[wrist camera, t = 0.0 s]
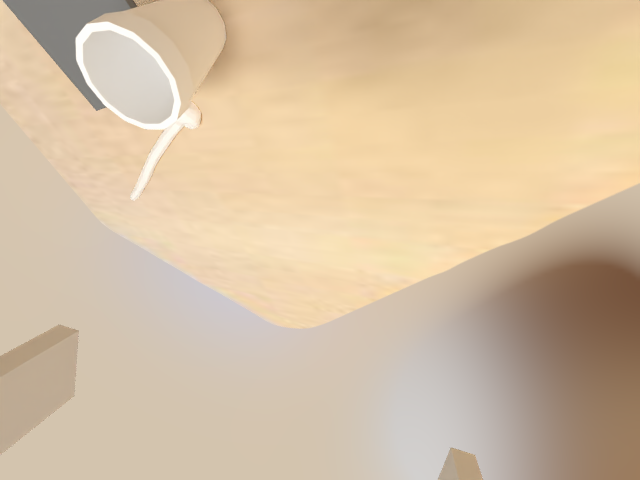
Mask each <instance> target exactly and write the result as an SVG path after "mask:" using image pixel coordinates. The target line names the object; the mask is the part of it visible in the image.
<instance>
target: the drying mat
mask: <svg viewBox="0 0 640 480" xmlns="http://www.w3.org/2000/svg"><path fill="white" fill-rule="evenodd" d="M3 1H4V2H5V4H6V5H7V6H8V7H9V8H10V9H11V11H12V12H13V13H14V14H15V15H16V17H17V18H18V19H19V20H20V21H21V22H22V24H23V25H24V26H25V27H26V28H27V29H28V31H29V32H30V33H31V34H32V35H33V37H34V38H35V39H36V40H37V41H38V42H39V44H40V45H41V46H42V47H43V48H44V49H45V51H46V52H47V53H48V54H49V55H50V57H51V58H52V59H53V60H54V61H55V62H56V64H57V65H58V66H59V67H60V68H61V69H62V71H63V72H64V73H65V74H66V75H67V77H68V78H69V79H70V80H71V81H72V82H73V84H74V85H75V86H76V87H77V88H78V89H79V91H80V92H81V93H82V94H83V95H84V97H85V98H86V99H87V100H88V101H89V102H90V104H91V105H92V106H93V107H94V108H95V109H96V111H97V110H100V109H103V108H105V107H106V106H105V105H104V104H103V103H102V102H101V100H100V99H99V98H98V97H97V95H96V94H95V93H94V92H93V91H92V89H91V88H90V87H89V86H88V85H87V83H86V81H85V78H84V76H83V74H82V72H81V70H80V67H79V65H78V63H77V61H76V39H75V38H76V37H77V36H78V34H79V33H80V32H81V30H82V29H83V28H84V26H85V25H86V24H87V23H89V22H91V21H92V20H94V19H96V18H98V17H100V16H101V15H103V14H105V13H113V12H121V11H125V10H129V9H132V8H135V7H137V6H136V4H135V3H134V1H133V0H3Z"/></svg>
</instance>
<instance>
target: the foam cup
mask: <svg viewBox="0 0 640 480" xmlns="http://www.w3.org/2000/svg"><path fill="white" fill-rule="evenodd" d="M75 39H76V61H77V63H78V65H79V67H80V70H81V72H82V74H83V76H84V78H85V81H86V83H87V85H88V86H89V87H90V88H91V89H92V91H93V92H94V93H95V94H96V95H97V97H98V98H99V99H100V100H101V102H102V103H103V104H104V105H105V106H106V107H107V108H109V109H110V110H111V111H113V112H114V113H115V114H117V115H118V116H119V117H121V118H122V119H123V120H125V121H126V122H129V123H131V124H134V125H136V126H139V127H141V128H144V129H165V128H167V127H168V126H170V125H171V124H172V123H174V122H175V121H177V120H178V119H179V118H180V117H181V115H182V114H183V113H184V112H185V111H186V110H187V109H188V108H189V106H190V103H191V99H192V98H193V96H194V95H195V93H196V91H197V90H198V88H199V87H200V85H201V83H202V82H203V80H204V79H205V77H206V76H207V74H208V72H209V71H210V69H211V68H212V66H213V64H214V63H215V61H216V60H217V58H218V56H219V55H220V53H221V51H222V49H223V47H224V44H225V41H226V30H225V23H224V21H223V19H222V17H221V15H220V14H219V12H218V10H217V8H216V7H215V6H214V5H213V4H212V3H211V2H210V1H208V0H159V1H155V2H152V3H149V4H145V5H142V6H139V7H135V8H132V9H129V10H125V11H121V12H113V13H105V14H103V15H101V16H100V17H98V18H96V19H94V20H92V21H91V22H89V23H87V24H86V25H85V26H84V28H83V29H82V30H81V32H80V33H79V34H78V36H77V37H76V38H75Z"/></svg>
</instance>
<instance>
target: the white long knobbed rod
mask: <svg viewBox="0 0 640 480" xmlns="http://www.w3.org/2000/svg"><path fill="white" fill-rule="evenodd" d="M200 121H201V111H200V110H199V109H198V107H197V105H195V104H194V103H193V102H192V101H191V103H190V106H189V108H188V109H187V110H186V111H185V112H184V113H183V114H182V115H181V117H180V118H179V119H178V120H177V121H175V122H174V123H172V124H171V125H170V126H168V127H167V128H165V129H164V131H163V132H162V134H161V135H160V137H159V138H158V140H157V142H156V143H155V145H154V146H153V148H152V149H151V151H150V153H149V155H148V157H147V159H146V162H145V164H144V166H143V169H142V171H141V174H140V176H139V178H138V181H137V183H136V185H135V187H134V189H133V191H132V192H131V195H130V198H131V200H136V199H138V198H139V197H140V195H141V194H142V192H143V190H144V188H145V187H146V185H147V184H148V182H149V180H150V178H151V177H152V175H153V173H154V170H155V166H156V164H157V163H158V161H159V159H160V158H161V156H162V155H163V153H164V152H165V150H166V149H167V147H168V146H169V144H170V143H171V141H172V140H173V139H174V137H175V136H176V135H177V133H178V132H179V131H180V130H181V129H182V128H183V127H184V126H185V127H187V128H189V129H194V128H197V127H199V125H200Z"/></svg>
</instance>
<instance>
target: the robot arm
mask: <svg viewBox="0 0 640 480" xmlns="http://www.w3.org/2000/svg"><path fill="white" fill-rule="evenodd" d="M78 334H79V331H78V330H75V329H71V328H68V327H65V326H62V325H58V326H56V327H54V328H52V329H50V330H48V331H47V332H44V333H43V334H41V335H39V336H37V337H35V338H33V339H31V340H30V341H28V342H26V343H24V344H22V345H20V346H18V347H16V348H15V349H13V350H11V351H9V352H8V353H5V354H3V355H2V356H0V455H1V454H2V453H3V452H5V451H6V450H7V449H8V448H10V447H11V446H12V445H13V444H15V443H16V442H17V441H18V440H20V439H21V438H22V437H23V436H24V435H26V434H27V433H28V432H30V431H31V430H32V429H33V428H35V427H36V426H37V425H38V424H40V423H41V422H42V421H43V420H45V419H46V418H47V417H48V416H50V415H51V414H52V413H54V412H55V411H56V410H57V409H59V408H60V407H61V406H62V405H63V404H65V403H66V402H67V401H68V400H70V399H71V398H72V397H74V392H75V377H76V363H77V349H78ZM438 480H483V479H482V475H481V472H480V469H479V466H478V463H477V460H476V457H475V455H473V454H470V453H467V452H463V451H461V450H457V449H454V448H450V451H449V453H448V456H447V458H446V461H445V463H444V466H443V468H442V471H441V473H440V475H439V478H438Z"/></svg>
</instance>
